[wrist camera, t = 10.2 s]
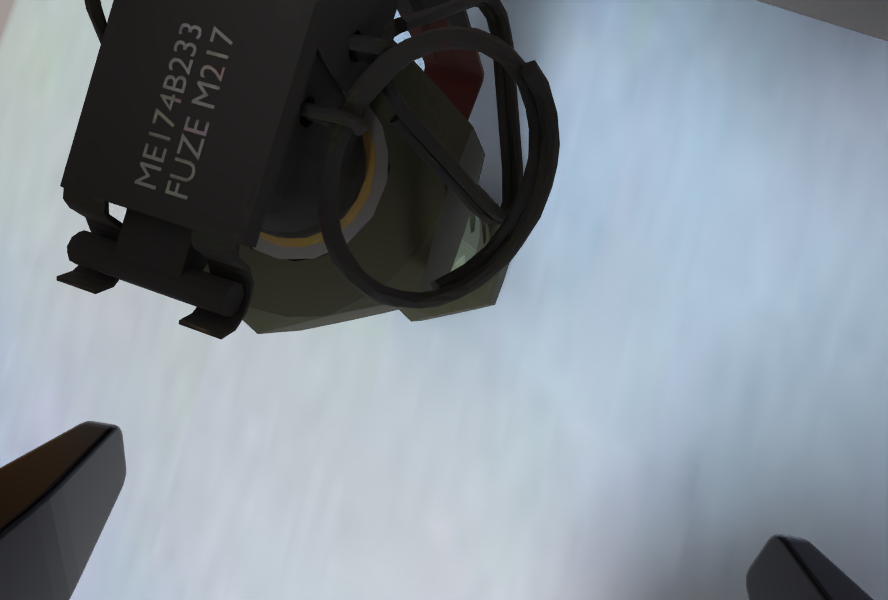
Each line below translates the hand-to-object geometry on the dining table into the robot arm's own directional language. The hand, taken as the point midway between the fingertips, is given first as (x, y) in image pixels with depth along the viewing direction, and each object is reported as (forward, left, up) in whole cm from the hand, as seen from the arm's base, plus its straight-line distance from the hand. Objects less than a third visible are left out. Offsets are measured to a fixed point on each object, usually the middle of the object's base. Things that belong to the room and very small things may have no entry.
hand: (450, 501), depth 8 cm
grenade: (+5, +3, -12) cm, 13 cm away
